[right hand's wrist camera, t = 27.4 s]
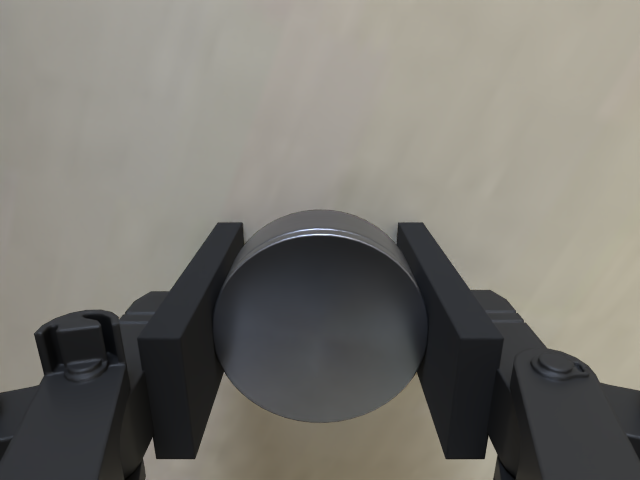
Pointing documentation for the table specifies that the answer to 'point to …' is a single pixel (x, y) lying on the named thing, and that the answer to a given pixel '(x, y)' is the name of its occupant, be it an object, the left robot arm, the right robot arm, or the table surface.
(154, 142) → the table surface
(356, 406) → the lid
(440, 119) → the table surface
